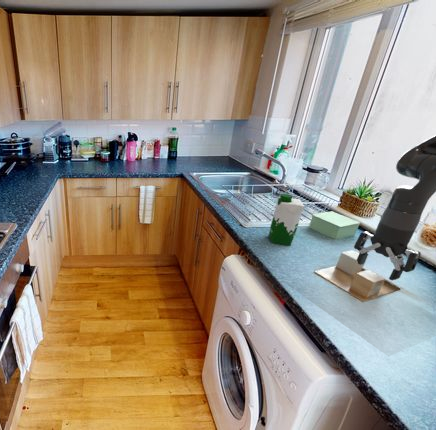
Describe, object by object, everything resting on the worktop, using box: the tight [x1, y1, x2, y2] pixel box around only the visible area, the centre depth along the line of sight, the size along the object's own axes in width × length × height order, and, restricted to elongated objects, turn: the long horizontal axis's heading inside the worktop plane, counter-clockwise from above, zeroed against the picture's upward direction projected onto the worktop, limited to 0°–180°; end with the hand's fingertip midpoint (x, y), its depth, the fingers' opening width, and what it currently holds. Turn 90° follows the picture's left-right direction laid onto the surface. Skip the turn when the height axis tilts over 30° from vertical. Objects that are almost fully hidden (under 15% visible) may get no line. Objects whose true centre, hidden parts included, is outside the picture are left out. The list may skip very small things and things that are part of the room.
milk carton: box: [268, 193, 305, 247], centre depth 116 cm, size 9×9×20 cm
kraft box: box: [350, 269, 387, 298], centre depth 89 cm, size 6×5×6 cm
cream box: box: [335, 249, 368, 274], centre depth 100 cm, size 6×5×6 cm
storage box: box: [308, 210, 362, 241], centre depth 124 cm, size 13×13×8 cm
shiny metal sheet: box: [313, 265, 401, 303], centre depth 96 cm, size 18×16×1 cm
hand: (375, 271), depth 87 cm, fingers open, 8 cm apart
